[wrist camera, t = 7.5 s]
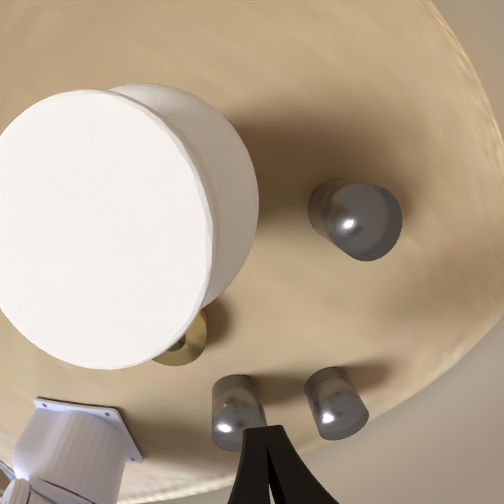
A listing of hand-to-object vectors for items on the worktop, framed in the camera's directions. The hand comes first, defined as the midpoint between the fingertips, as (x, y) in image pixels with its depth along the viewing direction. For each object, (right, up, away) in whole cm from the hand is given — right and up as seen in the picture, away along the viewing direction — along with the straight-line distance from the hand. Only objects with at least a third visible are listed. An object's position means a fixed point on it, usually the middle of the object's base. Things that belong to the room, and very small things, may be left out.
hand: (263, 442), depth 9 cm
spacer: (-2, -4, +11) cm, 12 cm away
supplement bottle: (-4, +11, +7) cm, 14 cm away
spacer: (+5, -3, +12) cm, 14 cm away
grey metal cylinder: (+5, +9, +8) cm, 13 cm away
